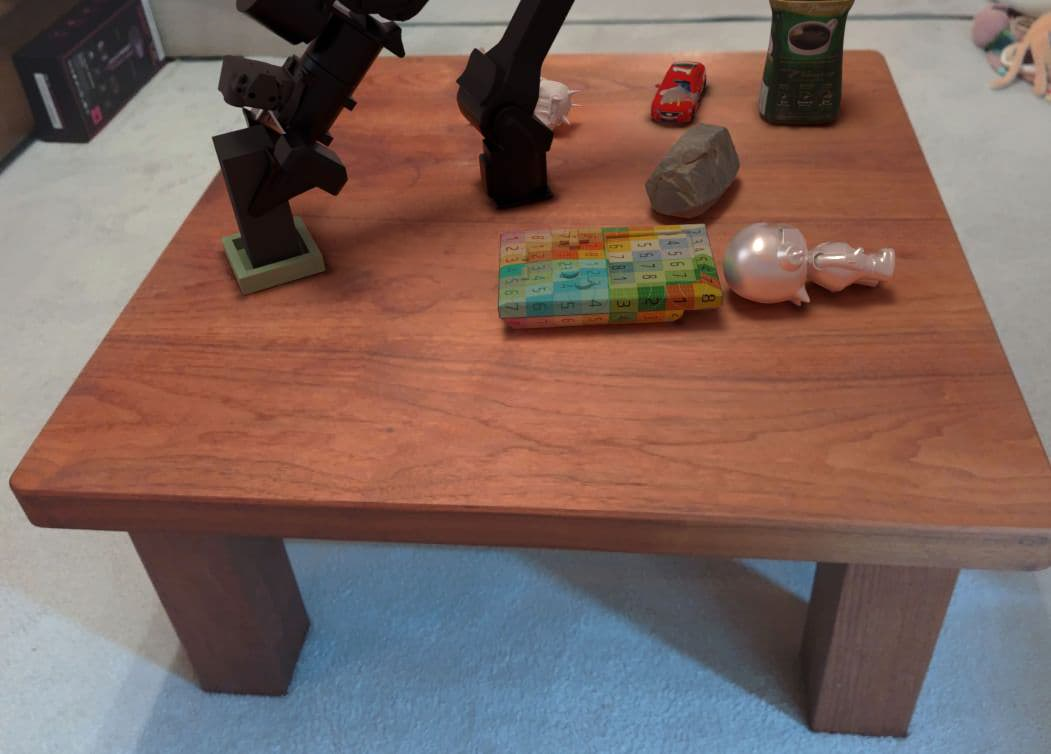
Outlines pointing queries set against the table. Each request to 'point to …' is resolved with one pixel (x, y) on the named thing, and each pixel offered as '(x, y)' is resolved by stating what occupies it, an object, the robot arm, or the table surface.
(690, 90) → the race car
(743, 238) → the figurine
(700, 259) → the puzzle game
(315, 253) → the green square tray
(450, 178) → the table surface
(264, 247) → the tall black rectangular block
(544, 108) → the robot toy
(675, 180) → the stone
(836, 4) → the coffee jar
